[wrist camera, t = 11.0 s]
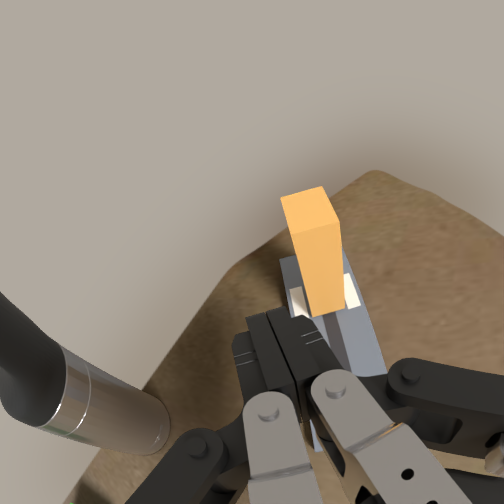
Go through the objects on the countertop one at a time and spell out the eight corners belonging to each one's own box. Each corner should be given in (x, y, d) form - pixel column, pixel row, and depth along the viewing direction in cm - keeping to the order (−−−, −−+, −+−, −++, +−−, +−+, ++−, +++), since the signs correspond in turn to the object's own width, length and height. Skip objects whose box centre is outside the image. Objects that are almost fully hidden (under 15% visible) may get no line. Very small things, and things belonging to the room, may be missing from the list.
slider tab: (345, 308, 31) (339, 221, 21) (312, 317, 32) (290, 234, 22) (334, 275, 35) (321, 186, 25) (304, 283, 35) (280, 197, 25)
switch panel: (398, 429, 22) (401, 427, 20) (316, 452, 23) (315, 452, 22) (341, 251, 40) (340, 241, 38) (282, 267, 41) (279, 258, 40)
